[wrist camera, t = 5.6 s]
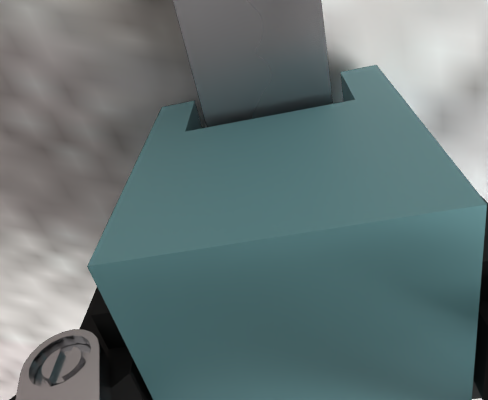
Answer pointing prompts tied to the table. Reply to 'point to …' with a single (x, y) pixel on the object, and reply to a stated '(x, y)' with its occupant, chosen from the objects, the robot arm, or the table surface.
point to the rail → (255, 56)
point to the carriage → (297, 255)
